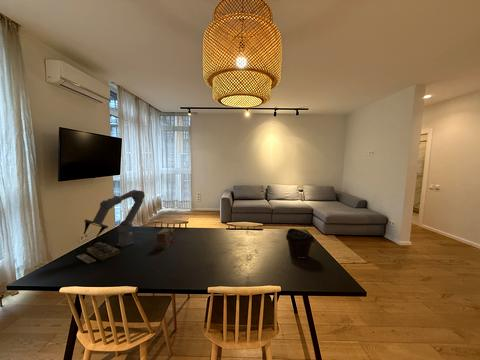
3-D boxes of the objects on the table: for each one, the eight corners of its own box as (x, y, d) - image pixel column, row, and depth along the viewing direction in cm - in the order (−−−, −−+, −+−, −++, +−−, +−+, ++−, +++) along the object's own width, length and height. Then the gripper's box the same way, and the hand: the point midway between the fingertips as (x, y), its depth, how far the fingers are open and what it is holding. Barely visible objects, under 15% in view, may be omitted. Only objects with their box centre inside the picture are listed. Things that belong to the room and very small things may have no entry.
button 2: (104, 247, 153) (104, 243, 153) (108, 249, 151) (107, 245, 151) (98, 249, 150) (98, 245, 149) (101, 251, 147) (101, 247, 147)
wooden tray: (105, 247, 161) (105, 243, 161) (119, 253, 150) (119, 249, 150) (87, 252, 151) (87, 248, 151) (101, 260, 140) (100, 255, 140)
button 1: (100, 245, 157) (100, 241, 157) (103, 247, 154) (103, 243, 154) (93, 247, 153) (93, 243, 153) (96, 249, 151) (96, 245, 151)
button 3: (109, 250, 150) (109, 245, 150) (112, 251, 148) (112, 247, 147) (102, 252, 146) (102, 247, 146) (106, 253, 144) (105, 249, 144)
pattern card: (84, 254, 148) (84, 253, 148) (96, 260, 139) (96, 260, 139) (76, 256, 144) (76, 256, 144) (87, 263, 135) (87, 263, 135)
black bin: (315, 262, 144) (316, 236, 143) (285, 259, 148) (286, 234, 147) (312, 252, 161) (313, 228, 160) (285, 249, 165) (286, 226, 164)
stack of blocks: (168, 238, 181) (168, 224, 180) (175, 239, 181) (175, 225, 180) (156, 249, 160) (156, 233, 159) (165, 249, 159) (164, 233, 158)
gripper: (88, 212, 143) (77, 232, 138) (111, 219, 149) (101, 239, 144) (89, 213, 149) (78, 232, 143) (111, 220, 155) (102, 238, 150)
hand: (90, 235), depth 144 cm, fingers open, 7 cm apart
